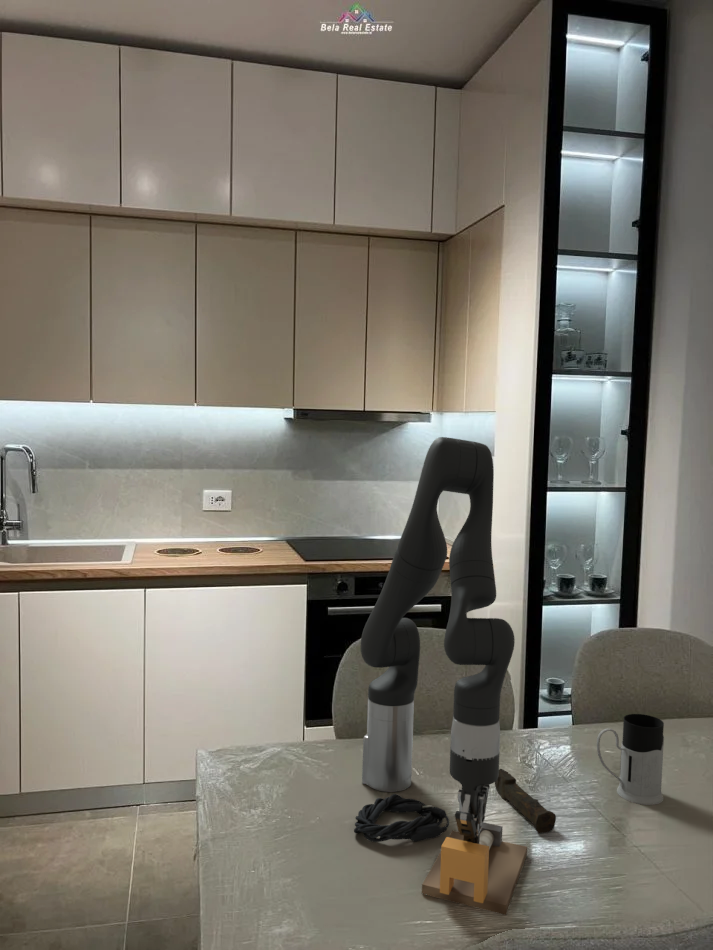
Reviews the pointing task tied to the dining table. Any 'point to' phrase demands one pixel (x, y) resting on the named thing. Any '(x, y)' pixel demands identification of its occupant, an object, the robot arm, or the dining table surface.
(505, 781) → the dark brown tapered rod
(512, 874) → the wooden base plate
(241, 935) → the dining table surface
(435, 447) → the robot arm
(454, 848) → the notched block
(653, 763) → the glass holder
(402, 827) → the cable
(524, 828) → the dining table surface
